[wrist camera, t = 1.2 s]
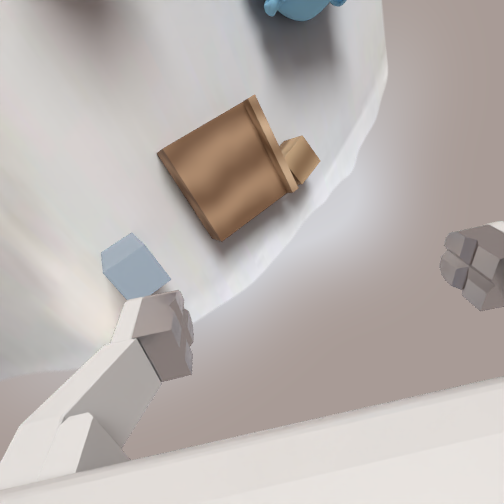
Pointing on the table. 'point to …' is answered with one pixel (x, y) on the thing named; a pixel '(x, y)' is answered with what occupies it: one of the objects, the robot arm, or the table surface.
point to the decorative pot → (298, 8)
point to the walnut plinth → (230, 168)
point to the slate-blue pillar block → (133, 268)
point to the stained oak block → (299, 158)
